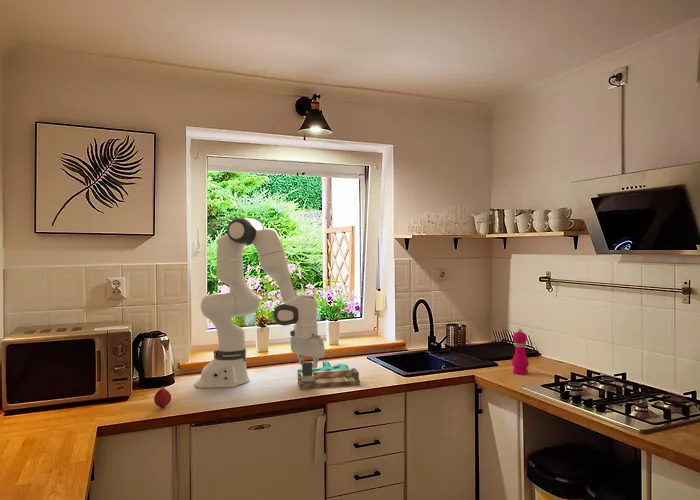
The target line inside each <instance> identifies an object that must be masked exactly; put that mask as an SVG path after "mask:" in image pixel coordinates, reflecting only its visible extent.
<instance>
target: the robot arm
mask: <svg viewBox="0 0 700 500" xmlns="http://www.w3.org/2000/svg"><path fill="white" fill-rule="evenodd" d="M226 233H227V234H223V235H222V236H220V237H219V238H218V241H217V248H216V275H217V276H216V277H217V279H218V280H219V281H220V282H222V283H223V284H225V285H227V286H228V288H229V291H226V292H214V293H211V294H207V295H205V296H204V297H203V298H202V300H201V302H200V309H201V313H202V315H203V316H204V317H205V318H206V319H208V320H210V321H211V323H212V324H213V326H214V327H215V330H216V332H217V339H218V349H217V348H215V349H214V350H213V351H212V352H213V359H212V360H211V361H210V362H208V363H207V364H206V365H205V366H204V367H203V368H202V369H201V370H202V371H201V372H200V373H201V374H200V377H199V378H198V379H196V380H195V387H197V388H199V389H201V388H202V389H203V388H205V389H207V388H208V389H210V388H211V389H212V388H234V387H237V386H240V385H243V384H246V383H248V382H249V381H250V377H249V375H248V371H247V364H246V363H247V362H246V361H247V349H246V347H245V345H246V344H245V343H246V342H245V336H246V335H245V331H244V328H243V327H241V326H240V325H239V326H238V325H236V324H234V322H233V318H235V317H237V318H238V317H244V316H245V317H246V316H249V315H251V314H252V315H253V314H255V313H257V312H258V310H259V308H260V298H259V296H258V294H257V292H255V291H253V290H252V289H251V288H250V287H249V286H248V285H249V284H247V282H246V279H245V273H244V259H243V258H244V257H243V251H244V247H245V246H246V247H247V246H251V245H253V246H254V247H255V250H256V252H257V257H258V260H259V264H260V267H261V269H262V272H264V273H265V274H266V275H268V276H269V277H271V278H272V279H273V280H274V281H275V282H276V285H277V287H278V289H279V293H280V296H281V298H282V303H280V304H278V305H276V306H275V308H274V309H273V315H272V316H273V319H274V321H275V323H276V324H278V325H279V326H283V327H285V326H290V325H293V324H294V325H295V327H296V328H295V329H293V330H290V331H289V335H290V350H291V352H292V353H294V354H296V356H297V359H298V365H301V366H302V362H305V359H304V357H303V356H307V357H310V358H312V360H313V361H312V369H313V368H317V369H318V363H319V361H320V359H322V358H324V357H325V355H326V351H325V350H326V348H325V343H324V340H323V338H322V335H320V334H318V333H319V331H318V322H317V317H318V307H317V301H316V298H315V296H314V295H310V294H305V293H299V294H297V293H296V289H295V287H294V283H293V281H292V277H291V273H290V270H289V268H288V263H287V257H286V253H285V249H284V247H283V243H282V241H281V238H280V236H279V234H278V231H276V230H275V229H274V228H269V227H267V228H266V227H265V225H264V224H263V222H262V221H260V220H258V219H257V218H251V217H239V218H238V217H237V218H235V219H232V220H231V221H230V222H229V224H228V225H227V227H226Z"/></svg>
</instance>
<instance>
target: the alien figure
mask: <svg viewBox="0 0 700 500" xmlns="http://www.w3.org/2000/svg"><path fill="white" fill-rule="evenodd" d="M345 369H350V367H349V366H348V364H344V363H337V364H334V365H331V363H330V361H327V360H325V361H322V367H319V368H318V367H317V368H312V372H315V371H330V370H345ZM299 372H302V368H298V369H297V374H298V373H299Z"/></svg>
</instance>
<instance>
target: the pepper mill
mask: <svg viewBox="0 0 700 500" xmlns="http://www.w3.org/2000/svg"><path fill="white" fill-rule="evenodd" d="M512 340H513V341H514V343H513V344H514V346H513V347H515V352H514V354H513V357H512V359H511V365H512V367H513V368H512V372H513V374H514V375H517V376H518V375H519V376H523V375H524V376H525V375H528V373H529V371H528V370H529V369H528V367H529V365H530V363H529V359H528V357H527V355H526V350H525V349H526V347H527V341H528V336H527V334H526V333H525V332H523V329H522V328H520V327H518V329H517V331H516V332H515V333H514V334H513V335H512Z"/></svg>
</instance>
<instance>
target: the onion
mask: <svg viewBox="0 0 700 500" xmlns="http://www.w3.org/2000/svg"><path fill="white" fill-rule="evenodd" d="M165 388H166V387H165V386H161V388H160V389H158V391H157V392H156V393H155V394H154V396H153V397H154V398H153V401H154V404H155V405H156V406H157V407H158V408H160V409H165V408H166V407H167V406H168V405H169V404H170V403H171V401H172V395H171V393H170V392H169V390H167V389H165Z"/></svg>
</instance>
